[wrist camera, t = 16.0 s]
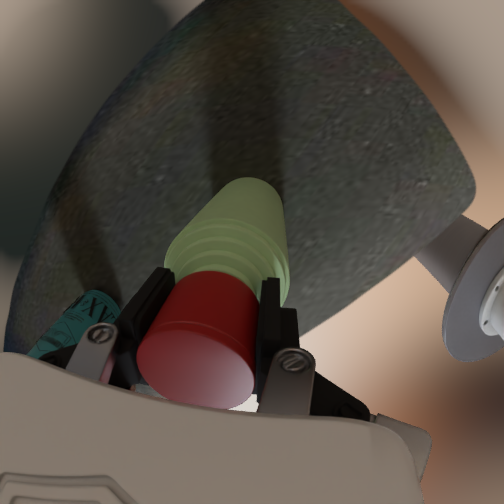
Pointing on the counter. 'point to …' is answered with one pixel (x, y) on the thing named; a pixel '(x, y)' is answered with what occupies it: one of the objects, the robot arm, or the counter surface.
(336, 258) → the counter surface
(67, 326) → the beverage bottle
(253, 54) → the counter surface
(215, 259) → the sauce bottle
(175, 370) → the cap
